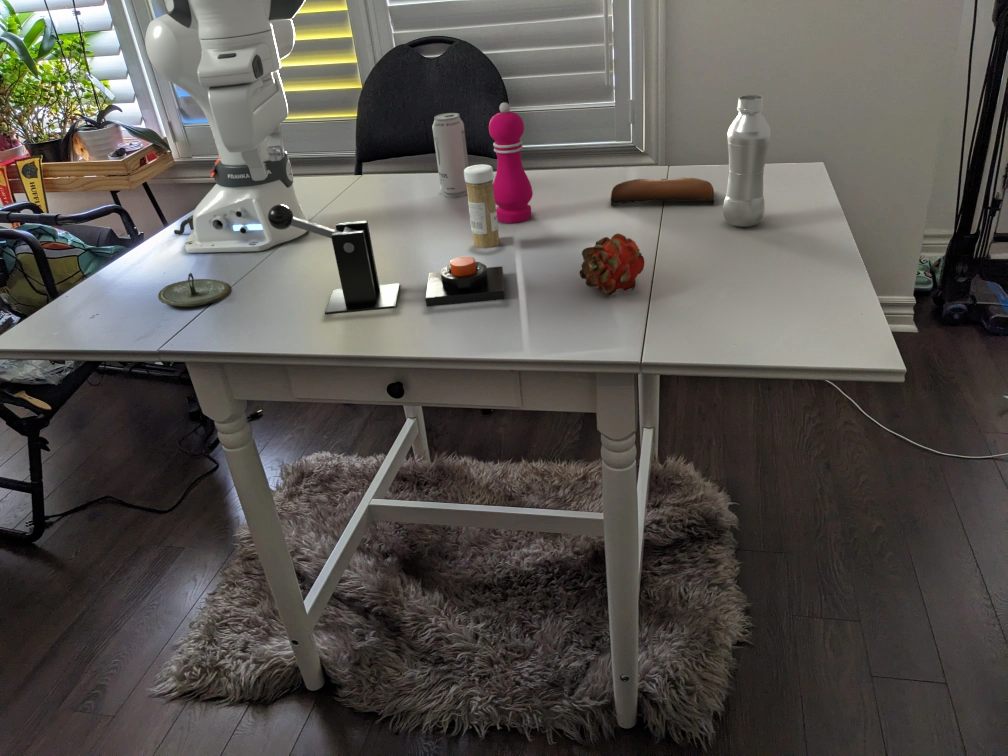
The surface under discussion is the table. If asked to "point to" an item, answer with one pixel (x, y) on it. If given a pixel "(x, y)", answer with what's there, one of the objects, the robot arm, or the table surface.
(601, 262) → the dragon fruit
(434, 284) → the button block
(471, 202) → the spice jar
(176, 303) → the metal shank button
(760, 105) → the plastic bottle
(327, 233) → the lever
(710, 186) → the sunglasses case
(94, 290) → the table surface
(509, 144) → the pepper mill
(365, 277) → the switch bracket
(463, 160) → the energy drink can
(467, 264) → the button
